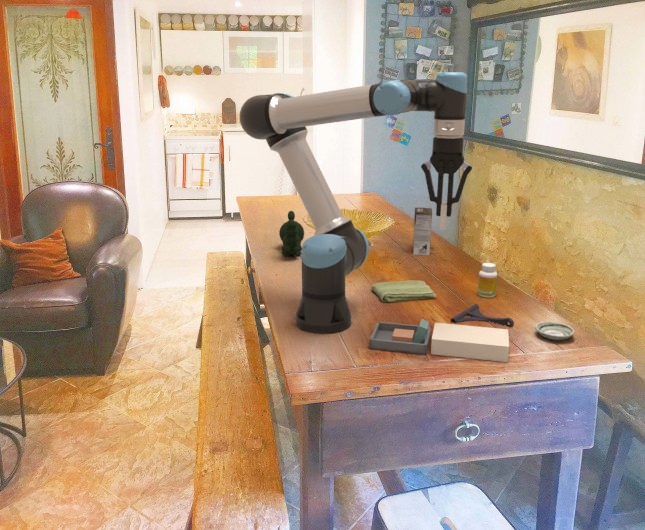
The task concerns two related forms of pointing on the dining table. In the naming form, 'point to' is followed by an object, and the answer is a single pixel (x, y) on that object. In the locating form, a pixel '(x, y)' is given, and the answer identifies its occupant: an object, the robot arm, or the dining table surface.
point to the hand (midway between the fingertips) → (442, 228)
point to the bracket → (479, 317)
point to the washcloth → (403, 291)
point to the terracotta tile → (403, 335)
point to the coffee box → (422, 231)
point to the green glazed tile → (420, 331)
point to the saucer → (554, 330)
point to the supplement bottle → (487, 280)
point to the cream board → (470, 342)
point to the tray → (383, 341)
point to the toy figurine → (291, 236)
